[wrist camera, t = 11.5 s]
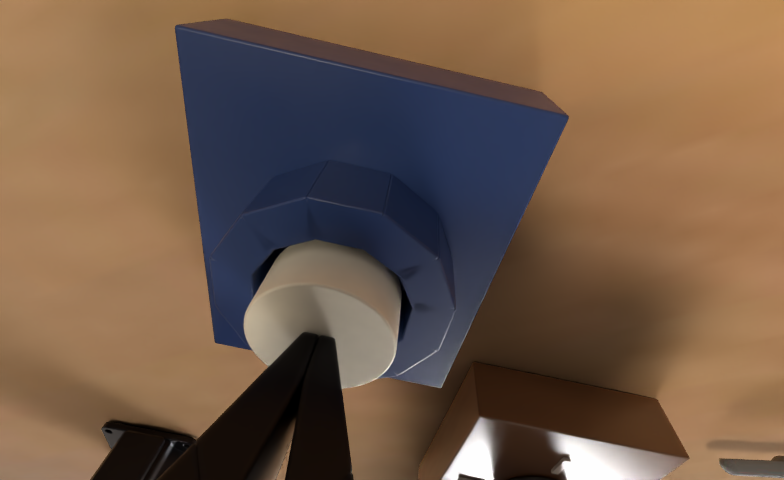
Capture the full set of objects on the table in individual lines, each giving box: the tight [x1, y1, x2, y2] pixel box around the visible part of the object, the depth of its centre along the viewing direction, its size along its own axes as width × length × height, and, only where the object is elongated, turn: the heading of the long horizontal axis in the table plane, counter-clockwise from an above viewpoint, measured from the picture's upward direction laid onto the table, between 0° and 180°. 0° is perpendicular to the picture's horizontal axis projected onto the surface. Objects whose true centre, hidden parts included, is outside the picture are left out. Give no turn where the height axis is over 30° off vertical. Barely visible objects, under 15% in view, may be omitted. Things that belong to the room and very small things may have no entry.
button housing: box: [175, 19, 569, 388], centre depth 13 cm, size 12×10×5 cm
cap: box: [244, 240, 402, 388], centre depth 10 cm, size 4×4×2 cm
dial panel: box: [418, 362, 689, 480], centre depth 21 cm, size 12×10×3 cm
